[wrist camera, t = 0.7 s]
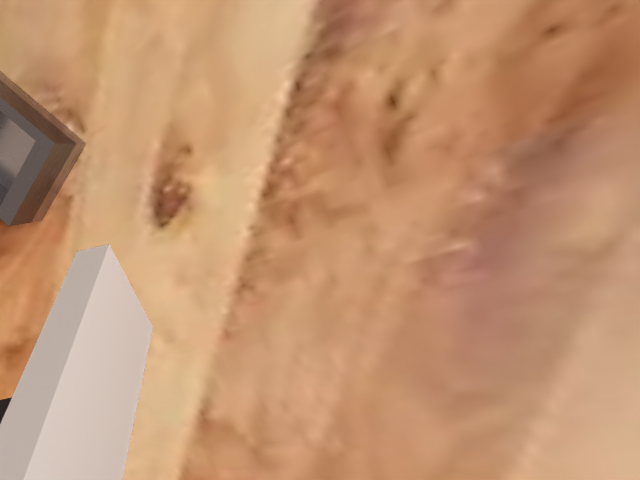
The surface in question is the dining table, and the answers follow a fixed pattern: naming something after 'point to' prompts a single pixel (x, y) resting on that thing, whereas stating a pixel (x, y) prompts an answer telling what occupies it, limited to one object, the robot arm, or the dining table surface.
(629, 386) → the dining table surface
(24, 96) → the compartment tray
